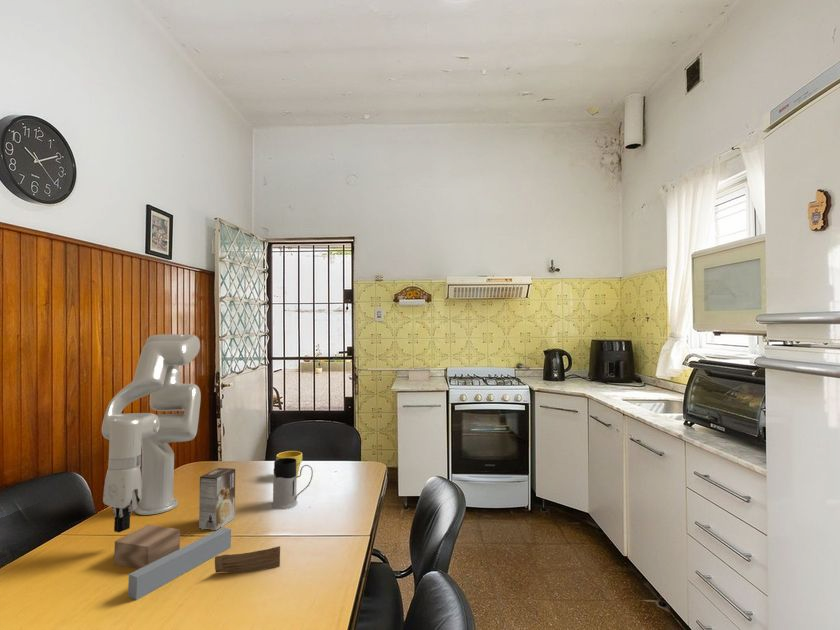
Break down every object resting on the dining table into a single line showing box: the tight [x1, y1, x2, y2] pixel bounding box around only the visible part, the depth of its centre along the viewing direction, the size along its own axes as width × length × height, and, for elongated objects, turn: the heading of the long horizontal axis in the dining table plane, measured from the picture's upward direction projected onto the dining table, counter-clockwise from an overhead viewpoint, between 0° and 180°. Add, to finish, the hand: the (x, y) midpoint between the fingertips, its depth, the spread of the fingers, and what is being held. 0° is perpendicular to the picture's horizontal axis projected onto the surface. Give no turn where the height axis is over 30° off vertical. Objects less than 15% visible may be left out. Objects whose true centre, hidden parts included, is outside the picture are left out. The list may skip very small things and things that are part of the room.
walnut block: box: [113, 524, 181, 569], centre depth 114 cm, size 11×10×6 cm
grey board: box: [127, 526, 232, 601], centre depth 108 cm, size 3×26×5 cm, turn 156°
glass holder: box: [271, 458, 314, 510], centre depth 150 cm, size 9×14×15 cm, turn 88°
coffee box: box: [198, 467, 236, 531], centre depth 134 cm, size 9×6×16 cm
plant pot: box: [275, 450, 303, 476], centre depth 177 cm, size 10×10×10 cm
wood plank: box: [214, 545, 281, 574], centre depth 108 cm, size 15×2×5 cm, turn 107°
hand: (121, 530), depth 118 cm, fingers closed
